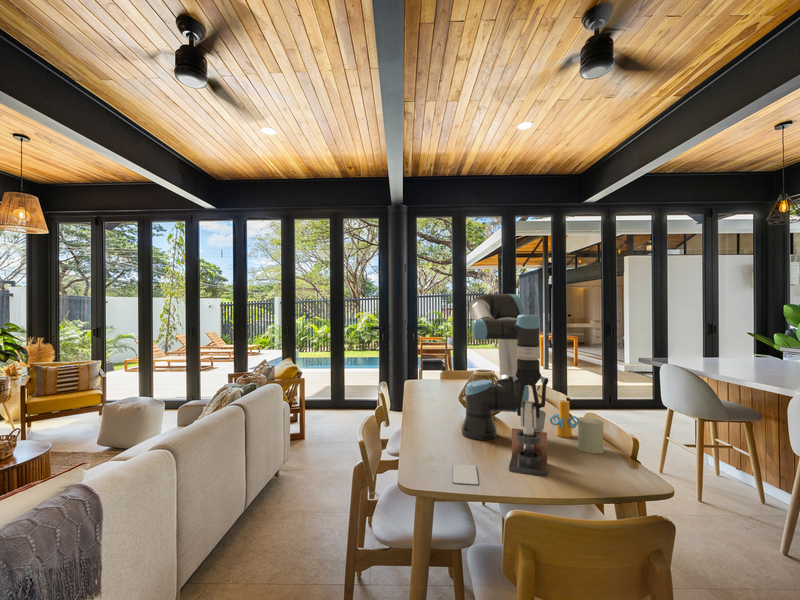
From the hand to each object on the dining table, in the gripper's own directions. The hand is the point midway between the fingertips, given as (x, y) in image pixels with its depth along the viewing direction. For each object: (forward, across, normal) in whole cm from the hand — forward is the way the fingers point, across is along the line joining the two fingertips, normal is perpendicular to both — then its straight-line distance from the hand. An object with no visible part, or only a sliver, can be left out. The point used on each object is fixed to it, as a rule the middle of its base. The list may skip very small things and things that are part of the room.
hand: (528, 426), depth 135 cm
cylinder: (+14, +13, +43) cm, 47 cm away
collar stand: (+14, 0, 0) cm, 14 cm away
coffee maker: (+14, +1, +20) cm, 25 cm away
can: (+14, +22, +28) cm, 38 cm away
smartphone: (+15, -19, -15) cm, 28 cm away
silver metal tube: (+12, 0, 0) cm, 12 cm away
